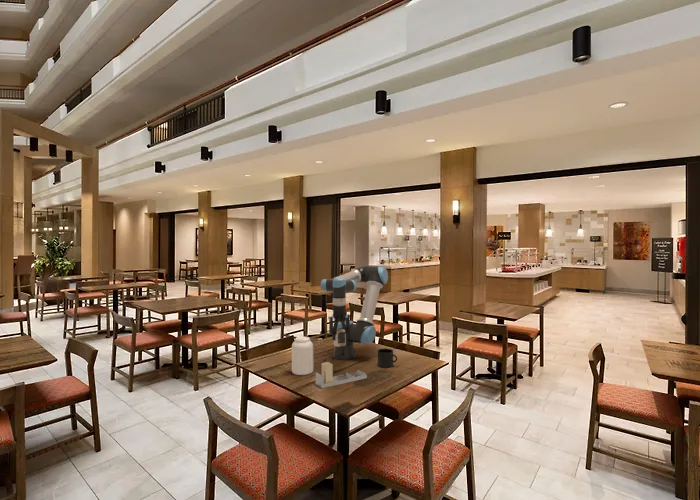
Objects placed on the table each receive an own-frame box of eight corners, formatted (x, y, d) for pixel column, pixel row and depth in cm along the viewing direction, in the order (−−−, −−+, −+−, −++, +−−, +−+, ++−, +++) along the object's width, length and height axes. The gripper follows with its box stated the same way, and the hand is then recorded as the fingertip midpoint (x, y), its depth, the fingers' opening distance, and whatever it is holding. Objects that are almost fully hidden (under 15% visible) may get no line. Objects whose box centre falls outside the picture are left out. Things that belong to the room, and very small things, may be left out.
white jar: (295, 376, 209) (295, 341, 209) (288, 370, 220) (288, 336, 220) (316, 373, 215) (316, 338, 215) (308, 367, 226) (308, 334, 226)
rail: (315, 384, 198) (315, 363, 198) (359, 374, 213) (359, 355, 212) (321, 388, 192) (321, 367, 192) (366, 378, 207) (366, 358, 206)
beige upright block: (341, 344, 220) (341, 328, 219) (345, 345, 216) (345, 330, 215) (334, 345, 217) (334, 329, 217) (338, 347, 213) (338, 331, 213)
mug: (395, 369, 222) (395, 353, 222) (376, 367, 226) (376, 352, 226) (398, 364, 231) (398, 349, 231) (379, 362, 235) (379, 348, 235)
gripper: (328, 307, 208) (329, 348, 209) (355, 304, 218) (356, 344, 218) (322, 305, 215) (322, 345, 215) (349, 302, 224) (349, 341, 224)
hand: (339, 344), depth 217 cm, fingers closed on beige upright block, 5 cm apart
